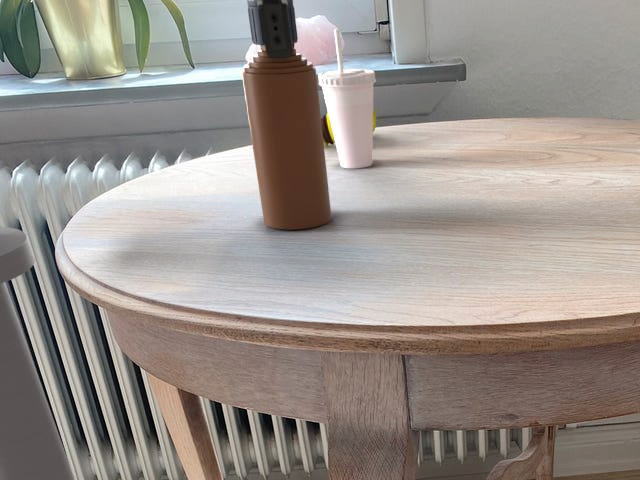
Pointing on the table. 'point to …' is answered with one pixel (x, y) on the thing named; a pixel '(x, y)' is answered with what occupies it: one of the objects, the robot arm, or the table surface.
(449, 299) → the table surface
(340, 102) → the smoothie
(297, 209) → the bottle
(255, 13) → the cap
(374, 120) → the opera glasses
